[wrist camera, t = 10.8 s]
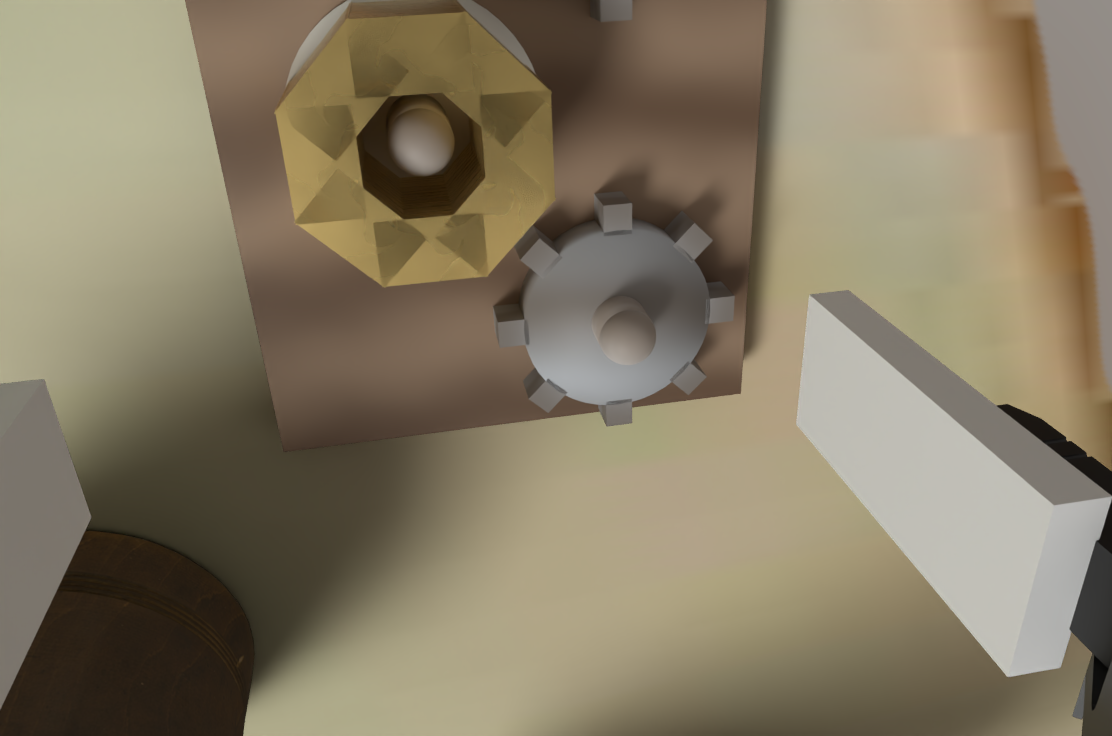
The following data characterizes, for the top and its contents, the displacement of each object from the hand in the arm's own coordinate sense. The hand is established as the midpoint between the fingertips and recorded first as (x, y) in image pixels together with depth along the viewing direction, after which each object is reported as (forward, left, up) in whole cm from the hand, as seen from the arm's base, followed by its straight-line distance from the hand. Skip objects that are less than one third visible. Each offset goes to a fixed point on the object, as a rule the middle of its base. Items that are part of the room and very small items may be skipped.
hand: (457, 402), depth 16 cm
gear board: (+1, -3, -21) cm, 21 cm away
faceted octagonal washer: (+1, 0, -19) cm, 19 cm away
